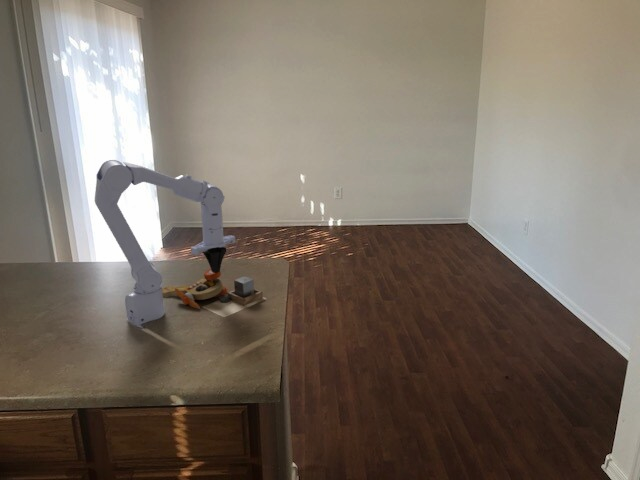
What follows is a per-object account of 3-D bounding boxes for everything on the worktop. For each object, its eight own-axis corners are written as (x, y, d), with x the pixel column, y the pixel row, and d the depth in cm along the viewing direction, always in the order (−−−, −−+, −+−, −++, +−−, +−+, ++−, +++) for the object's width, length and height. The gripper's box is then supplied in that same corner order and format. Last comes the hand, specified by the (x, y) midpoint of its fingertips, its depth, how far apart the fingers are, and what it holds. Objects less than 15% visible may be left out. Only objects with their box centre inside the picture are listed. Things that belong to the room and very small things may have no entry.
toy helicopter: (233, 289, 156) (214, 315, 144) (175, 294, 162) (152, 319, 151) (225, 266, 152) (205, 291, 141) (166, 272, 159) (142, 296, 147)
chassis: (224, 320, 140) (223, 310, 139) (202, 310, 146) (201, 300, 145) (267, 301, 151) (266, 292, 150) (244, 292, 157) (244, 283, 156)
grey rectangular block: (244, 302, 148) (243, 283, 146) (235, 298, 151) (234, 280, 149) (254, 298, 151) (253, 279, 149) (245, 294, 154) (244, 276, 152)
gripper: (201, 235, 136) (204, 282, 140) (241, 223, 146) (243, 267, 151) (184, 230, 140) (188, 276, 144) (225, 219, 151) (227, 262, 155)
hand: (215, 271), depth 148 cm, fingers closed
